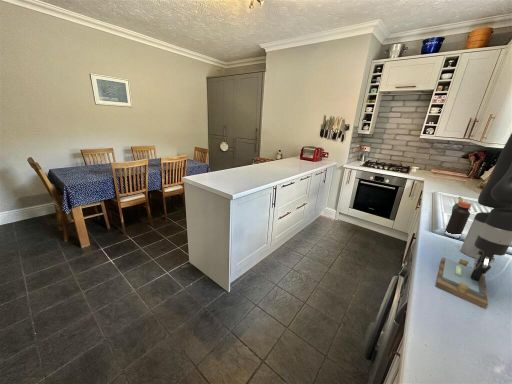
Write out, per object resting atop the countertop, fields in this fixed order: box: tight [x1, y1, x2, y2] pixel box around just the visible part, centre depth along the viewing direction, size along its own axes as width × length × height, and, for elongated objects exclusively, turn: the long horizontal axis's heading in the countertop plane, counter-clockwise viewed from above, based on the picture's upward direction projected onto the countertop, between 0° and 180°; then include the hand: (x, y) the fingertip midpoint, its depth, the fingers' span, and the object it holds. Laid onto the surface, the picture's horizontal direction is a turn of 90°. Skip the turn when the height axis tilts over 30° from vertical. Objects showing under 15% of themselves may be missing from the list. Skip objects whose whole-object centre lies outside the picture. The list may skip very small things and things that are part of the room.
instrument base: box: [435, 257, 489, 309], centre depth 80 cm, size 23×13×4 cm, turn 135°
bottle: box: [444, 200, 472, 235], centre depth 114 cm, size 7×7×20 cm
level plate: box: [442, 258, 485, 297], centre depth 79 cm, size 17×11×3 cm, turn 135°
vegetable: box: [451, 196, 464, 213], centre depth 124 cm, size 4×4×20 cm
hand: (474, 279), depth 77 cm, fingers closed
